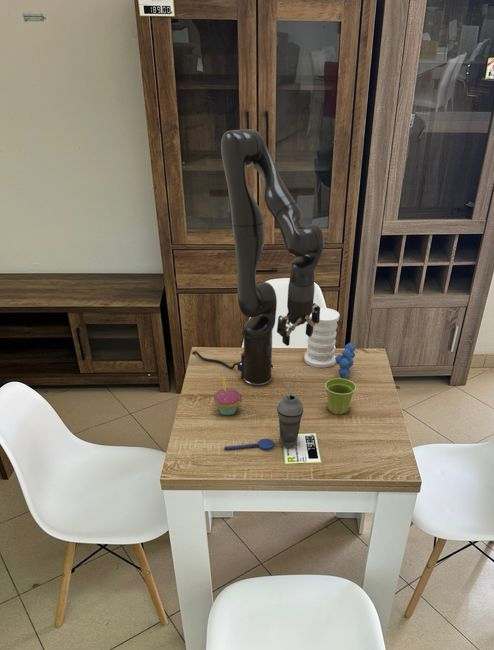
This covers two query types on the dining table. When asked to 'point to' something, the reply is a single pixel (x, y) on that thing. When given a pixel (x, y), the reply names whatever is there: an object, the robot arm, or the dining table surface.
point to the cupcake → (227, 399)
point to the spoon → (255, 445)
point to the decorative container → (323, 340)
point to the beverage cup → (289, 419)
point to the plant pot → (339, 394)
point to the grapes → (346, 360)
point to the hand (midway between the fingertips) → (297, 339)
